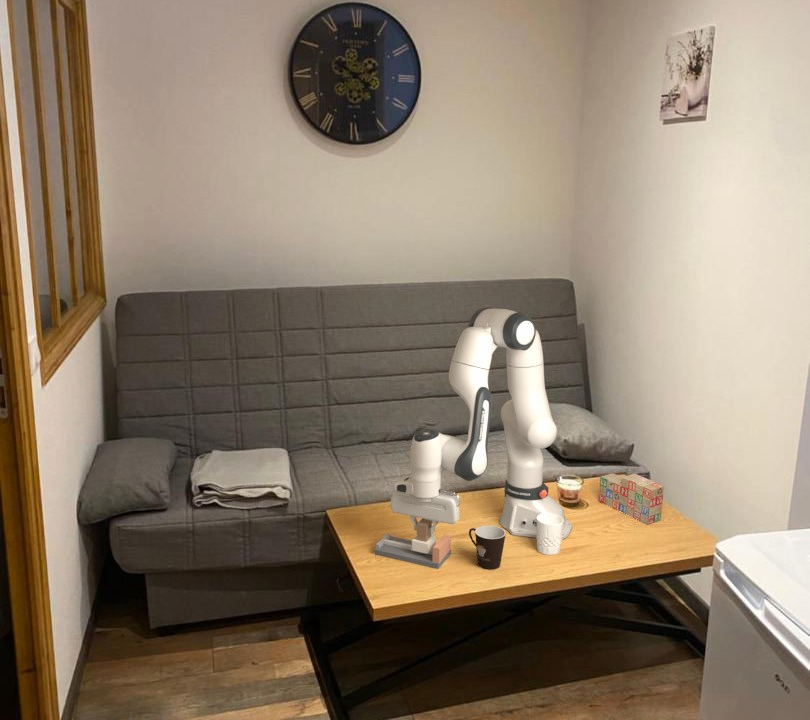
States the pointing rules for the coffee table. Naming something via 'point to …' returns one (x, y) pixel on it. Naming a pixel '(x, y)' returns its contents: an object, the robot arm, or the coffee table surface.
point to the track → (404, 552)
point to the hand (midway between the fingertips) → (424, 531)
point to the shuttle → (423, 537)
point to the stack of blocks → (632, 496)
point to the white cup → (549, 533)
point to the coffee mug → (489, 546)
